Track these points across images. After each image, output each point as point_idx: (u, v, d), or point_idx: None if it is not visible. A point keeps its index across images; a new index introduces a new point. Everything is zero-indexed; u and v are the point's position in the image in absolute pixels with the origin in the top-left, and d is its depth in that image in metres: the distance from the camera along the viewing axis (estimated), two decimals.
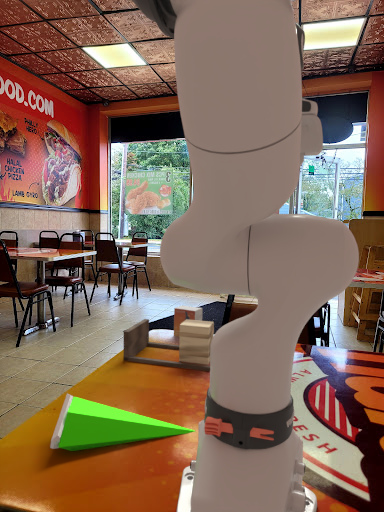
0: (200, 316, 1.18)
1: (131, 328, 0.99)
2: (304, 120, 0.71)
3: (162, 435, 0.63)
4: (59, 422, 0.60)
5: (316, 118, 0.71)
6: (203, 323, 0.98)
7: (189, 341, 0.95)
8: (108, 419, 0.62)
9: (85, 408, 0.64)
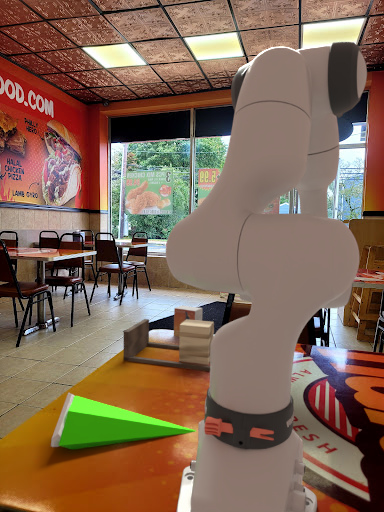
0: (200, 316, 1.18)
1: (131, 328, 0.99)
2: None
3: (162, 434, 0.63)
4: (60, 421, 0.60)
5: None
6: (203, 323, 0.98)
7: (189, 341, 0.95)
8: (109, 418, 0.63)
9: (86, 407, 0.64)
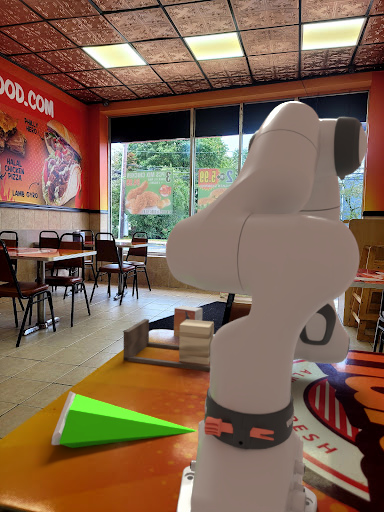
0: (200, 316, 1.18)
1: (131, 328, 0.99)
2: None
3: (162, 434, 0.63)
4: (61, 419, 0.61)
5: None
6: (203, 323, 0.98)
7: (189, 341, 0.95)
8: (109, 417, 0.63)
9: (87, 405, 0.65)
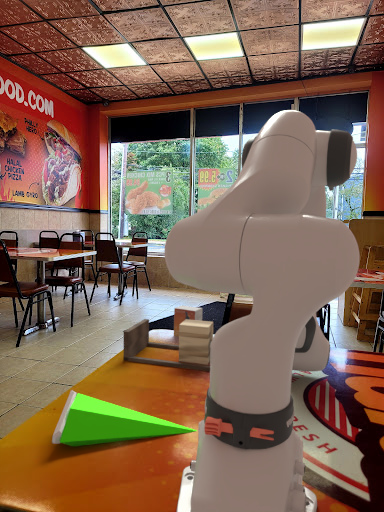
0: (200, 316, 1.18)
1: (131, 328, 0.99)
2: None
3: (162, 434, 0.63)
4: (61, 418, 0.61)
5: None
6: (202, 322, 0.98)
7: (188, 341, 0.95)
8: (110, 416, 0.63)
9: (88, 404, 0.65)
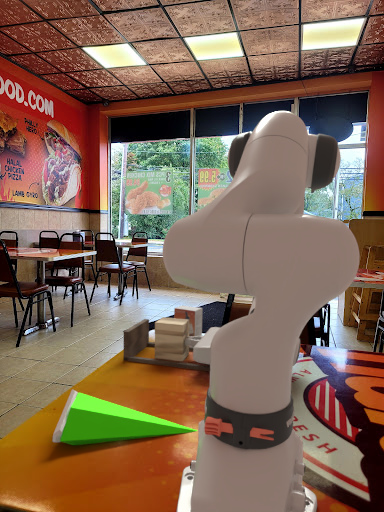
0: (200, 316, 1.18)
1: (131, 328, 0.99)
2: None
3: (163, 433, 0.64)
4: (62, 417, 0.62)
5: None
6: (178, 320, 1.00)
7: (164, 339, 0.97)
8: (110, 415, 0.64)
9: (88, 404, 0.65)
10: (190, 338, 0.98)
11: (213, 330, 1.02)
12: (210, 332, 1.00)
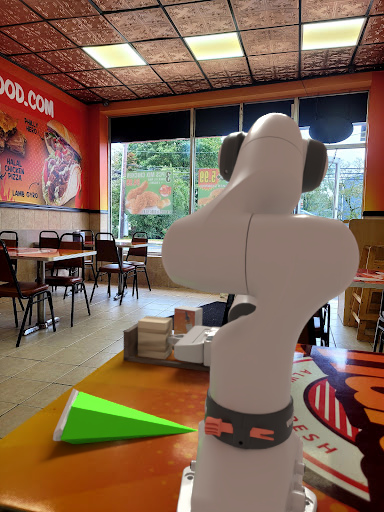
0: (200, 316, 1.18)
1: (131, 328, 0.99)
2: (201, 340, 0.91)
3: (163, 433, 0.64)
4: (63, 415, 0.62)
5: (199, 343, 0.88)
6: (161, 319, 1.01)
7: (147, 337, 0.98)
8: (111, 414, 0.64)
9: (89, 403, 0.66)
10: (173, 336, 0.99)
11: (196, 329, 1.03)
12: (193, 330, 1.02)
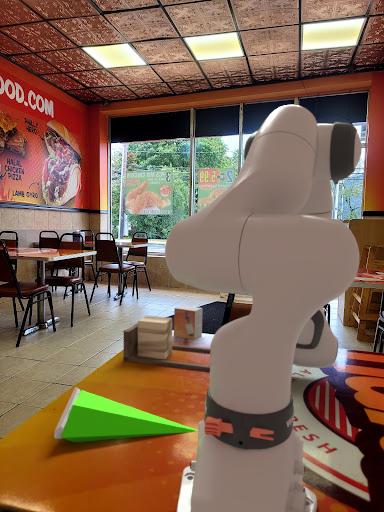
0: (200, 316, 1.18)
1: (131, 328, 0.99)
2: None
3: (163, 432, 0.64)
4: (64, 414, 0.63)
5: None
6: (161, 319, 1.01)
7: (147, 337, 0.98)
8: (111, 413, 0.64)
9: (90, 401, 0.66)
10: None
11: None
12: None
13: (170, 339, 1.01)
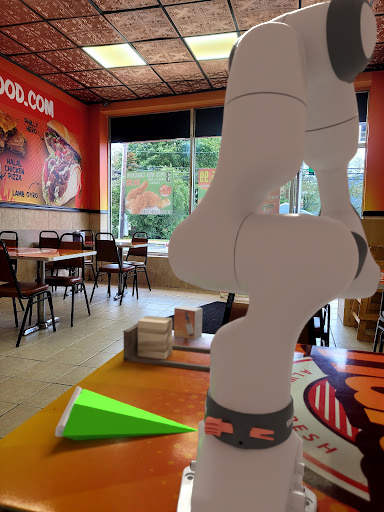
0: (200, 316, 1.18)
1: (131, 328, 0.99)
2: None
3: (163, 432, 0.64)
4: (65, 412, 0.63)
5: None
6: (161, 319, 1.01)
7: (147, 337, 0.98)
8: (112, 412, 0.65)
9: (92, 400, 0.67)
10: None
11: None
12: None
13: (170, 339, 1.01)
